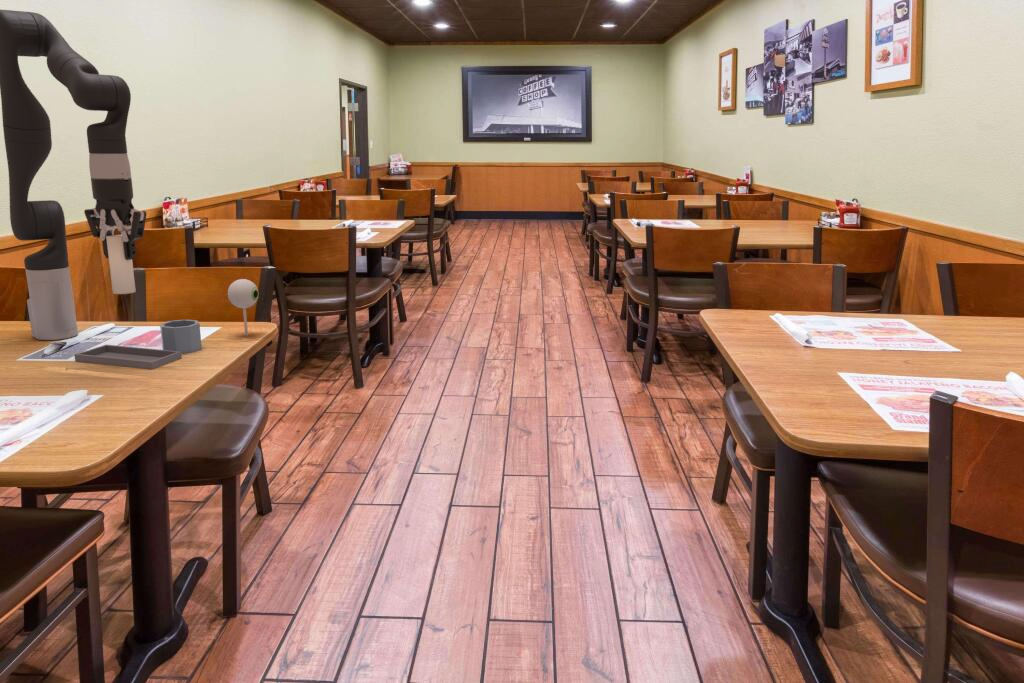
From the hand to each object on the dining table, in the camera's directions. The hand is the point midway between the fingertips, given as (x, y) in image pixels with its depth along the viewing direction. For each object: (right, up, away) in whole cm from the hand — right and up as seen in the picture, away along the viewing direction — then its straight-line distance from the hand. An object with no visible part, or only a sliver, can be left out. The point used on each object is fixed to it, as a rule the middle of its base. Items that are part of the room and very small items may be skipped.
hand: (120, 258), depth 164 cm
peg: (0, -7, +2) cm, 7 cm away
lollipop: (+17, -17, +27) cm, 37 cm away
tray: (-1, -23, +5) cm, 23 cm away
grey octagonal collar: (+7, -20, +14) cm, 26 cm away
